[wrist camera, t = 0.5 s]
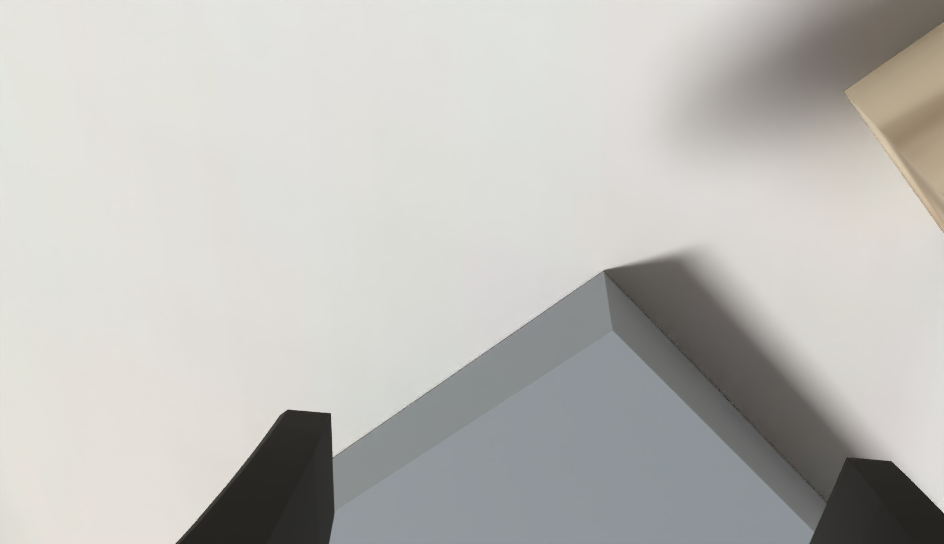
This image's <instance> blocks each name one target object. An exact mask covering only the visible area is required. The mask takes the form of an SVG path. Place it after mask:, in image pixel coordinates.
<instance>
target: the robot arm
mask: <svg viewBox="0 0 944 544" xmlns="http://www.w3.org/2000/svg"><path fill="white" fill-rule="evenodd" d="M334 515H335V509H334V483H333V457H332V431H331V413H320V412H309V411H297V410H287V411H285V412H284V413H282V414H281V415H280V416H279V417H278V419H277V420H276V422H275V423H274V425H273V426H272V427H271V429H270V430H269V432H268V433H267V434H266V436H265V437H264V438H263V440H262V441H261V442H260V444H259V445H258V446H257V448H256V449H255V450H254V452H253V453H252V454H251V455H250V457H249V458H248V459H247V461H246V462H245V463H244V464H243V466H242V467H241V468H240V469H239V471H238V472H237V473H236V474H235V476H234V477H233V478H232V479H231V481H230V482H229V483H228V484H227V486H226V487H225V488H224V489H223V490H222V491H221V493H220V494H219V495H218V496H217V497H216V498H215V500H214V501H213V502H212V503H211V504H210V505H209V507H208V508H207V509H206V510H205V511H204V513H203V514H202V515H201V516H200V517H199V518H198V520H197V521H196V522H195V523H194V524H193V525H192V526H191V528H190V529H189V530H188V531H187V532H186V533H185V534H184V535H183V536H182V537H181V538H180V540H179V541H178V542H177V543H176V544H329V541H330V536H331V530H332V525H333V520H334ZM809 544H944V513H943V512H942V511H941V510H940V509H939V508H938V507H937V506H936V505H935V504H934V503H933V502H932V501H931V500H930V499H929V498H928V497H927V496H926V495H925V494H924V493H923V492H922V491H921V490H920V489H919V488H918V487H917V486H916V485H915V484H914V483H913V482H912V481H911V480H910V479H909V478H908V477H907V476H906V475H905V474H904V473H903V472H902V471H901V470H900V469H899V468H898V467H897V466H896V465H895V464H894V463H892V462H891V461H882V460H871V459H859V458H847V459H846V461H845V463H844V466H843V468H842V470H841V472H840V475H839V477H838V479H837V482H836V484H835V486H834V488H833V491H832V493H831V495H830V498H829V500H828V502H827V504H826V507H825V509H824V511H823V514H822V516H821V518H820V520H819V523H818V525H817V527H816V530H815V532H814V534H813V536H812V539H811V541H810V543H809Z"/></svg>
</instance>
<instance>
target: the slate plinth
mask: <svg viewBox="0 0 944 544" xmlns="http://www.w3.org/2000/svg"><path fill="white" fill-rule="evenodd" d="M333 483H334V509H335V515H334V520H333V525H332V530H331V536H330V541H329V544H809V543H810V541H811V539H812V536H813V534H814V532H815V530H816V527H817V525H818V523H819V520H820V518H821V516H822V514H823V511H824V509H825V507H826V504H827V502H826V501H825V500H824V499H823V498H822V497H821V496H820V495H819V494H818V493H817V492H816V491H815V490H814V489H813V488H812V487H811V486H810V485H809V484H808V483H807V482H806V481H805V480H804V479H803V478H802V477H801V475H800V474H799V473H798V472H797V471H796V470H795V469H794V468H793V467H792V466H791V465H790V464H789V463H788V462H787V461H786V460H785V459H784V458H783V457H782V456H781V455H780V454H779V453H778V452H777V451H776V450H775V449H774V447H773V446H772V445H771V444H770V443H769V442H768V441H767V440H766V439H765V438H764V437H763V436H762V435H761V434H760V433H759V432H758V431H757V430H756V429H755V428H754V427H753V426H752V425H751V424H750V423H749V422H748V421H747V420H746V418H745V417H744V416H743V415H742V414H741V413H740V412H739V411H738V410H737V409H736V408H735V407H734V406H733V405H732V404H731V403H730V402H729V401H728V400H727V399H726V398H725V397H724V396H723V395H722V394H721V393H720V392H719V390H718V389H717V388H716V387H715V386H714V385H713V384H712V383H711V382H710V381H709V380H708V379H707V378H706V377H705V376H704V375H703V374H702V373H701V372H700V371H699V370H698V369H697V368H696V367H695V366H694V365H693V364H692V362H691V361H690V360H689V359H688V358H687V357H686V356H685V355H684V354H683V353H682V352H681V351H680V350H679V349H678V348H677V347H676V346H675V345H674V344H673V343H672V342H671V341H670V340H669V339H668V338H667V337H666V336H665V335H664V333H663V332H662V331H661V330H660V329H659V328H658V327H657V326H656V325H655V324H654V323H653V322H652V321H651V320H650V319H649V318H648V317H647V316H646V315H645V314H644V313H643V312H642V311H641V310H640V309H639V308H638V307H637V305H636V304H635V303H634V302H633V301H632V300H631V299H630V298H629V297H628V296H627V295H626V294H625V293H624V292H623V291H622V290H621V289H620V288H619V287H618V286H617V285H616V284H615V283H614V282H613V281H612V280H611V279H610V277H609V276H608V275H607V274H606V273H605V272H604V271H603V272H601V273H600V274H599V275H597V276H596V277H594V278H593V279H591V280H590V281H588V282H587V283H585V284H584V285H583V286H581V287H580V288H578V289H577V290H575V291H574V292H572V293H571V294H570V295H568V296H567V297H565V298H564V299H562V300H561V301H559V302H558V303H557V304H555V305H554V306H552V307H551V308H549V309H548V310H546V311H545V312H544V313H542V314H541V315H539V316H538V317H536V318H535V319H533V320H532V321H531V322H529V323H528V324H526V325H525V326H523V327H522V328H520V329H519V330H517V331H516V332H515V333H513V334H512V335H510V336H509V337H507V338H506V339H504V340H503V341H502V342H500V343H499V344H497V345H496V346H494V347H493V348H491V349H490V350H489V351H487V352H486V353H484V354H483V355H481V356H480V357H478V358H477V359H476V360H474V361H473V362H471V363H470V364H468V365H467V366H465V367H464V368H462V369H461V370H460V371H458V372H457V373H455V374H454V375H452V376H451V377H449V378H448V379H447V380H445V381H444V382H442V383H441V384H439V385H438V386H436V387H435V388H434V389H432V390H431V391H429V392H428V393H426V394H425V395H423V396H422V397H421V398H419V399H418V400H416V401H415V402H413V403H412V404H410V405H409V406H407V407H406V408H405V409H403V410H402V411H400V412H399V413H397V414H396V415H394V416H393V417H392V418H390V419H389V420H387V421H386V422H384V423H383V424H381V425H380V426H379V427H377V428H376V429H374V430H373V431H371V432H370V433H368V434H367V435H366V436H364V437H363V438H361V439H360V440H358V441H357V442H355V443H354V444H353V445H351V446H350V447H348V448H347V449H345V450H344V451H342V452H341V453H339V454H338V455H337V456H335V457H334V458H333Z"/></svg>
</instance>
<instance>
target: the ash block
mask: <svg viewBox="0 0 944 544" xmlns="http://www.w3.org/2000/svg"><path fill="white" fill-rule="evenodd" d="M844 93H845V95H846V96H847V97H848V99H849V100H850V102H851V103H852V104H853V106H854V107H855V109H856V110H857V112H858V113H859V114H860V116H861V117H862V119H863V120H864V121H865V123H866V124H867V126H868V127H869V128H870V130H871V131H872V133H873V134H874V136H875V137H876V138H877V140H878V141H879V143H880V144H881V145H882V147H883V148H884V150H885V151H886V153H887V154H888V155H889V157H890V158H891V160H892V161H893V162H894V164H895V165H896V167H897V168H898V170H899V171H900V172H901V174H902V175H903V177H904V178H905V179H906V181H907V182H908V184H909V185H910V186H911V188H912V189H913V191H914V192H915V194H916V195H917V196H918V198H919V199H920V201H921V202H922V203H923V205H924V206H925V208H926V209H927V211H928V212H929V213H930V215H931V216H932V218H933V219H934V220H935V222H936V223H937V225H938V226H939V228H940V229H941V230H942V231H943V232H944V22H942V23H941V24H940V25H938V26H937V27H935V28H934V29H932V30H931V31H930V32H928V33H927V34H925V35H924V36H922V37H921V38H920V39H918V40H917V41H915V42H914V43H912V44H911V45H910V46H908V47H907V48H905V49H904V50H902V51H901V52H900V53H898V54H897V55H895V56H894V57H892V58H891V59H889V60H888V61H887V62H885V63H884V64H882V65H881V66H879V67H878V68H877V69H875V70H874V71H872V72H871V73H869V74H868V75H867V76H865V77H864V78H862V79H861V80H859V81H858V82H857V83H855V84H854V85H852V86H851V87H849V88H848V89H847V90H845V91H844Z"/></svg>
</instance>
